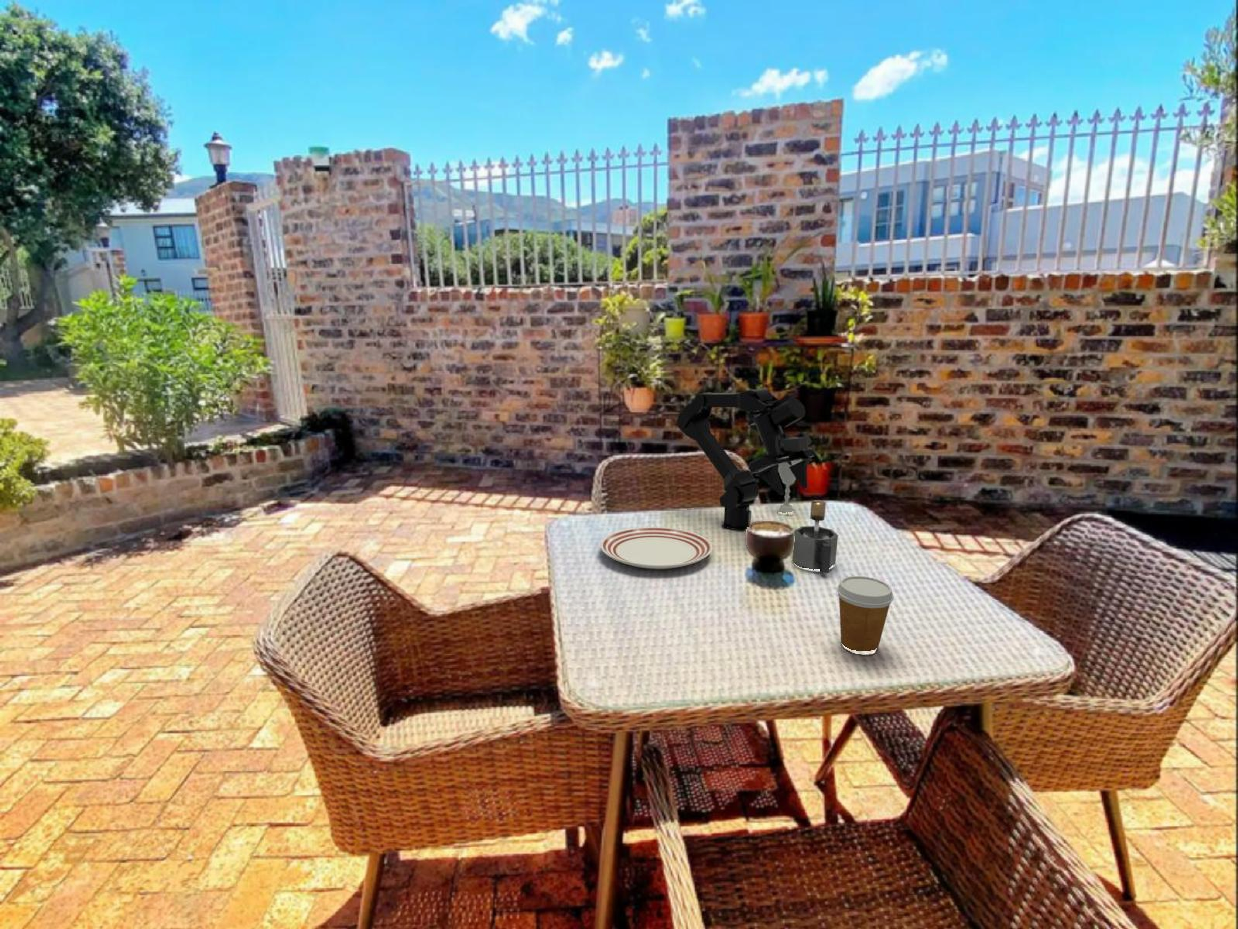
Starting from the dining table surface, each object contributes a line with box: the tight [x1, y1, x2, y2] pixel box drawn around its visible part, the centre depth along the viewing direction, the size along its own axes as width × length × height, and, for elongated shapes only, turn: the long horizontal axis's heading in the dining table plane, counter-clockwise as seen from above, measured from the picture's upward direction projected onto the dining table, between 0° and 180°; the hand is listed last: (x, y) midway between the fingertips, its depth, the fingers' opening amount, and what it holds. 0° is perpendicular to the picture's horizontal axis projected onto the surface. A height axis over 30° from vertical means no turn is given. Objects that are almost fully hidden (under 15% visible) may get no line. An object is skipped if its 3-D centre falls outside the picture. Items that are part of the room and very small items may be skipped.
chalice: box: [777, 462, 797, 513], centre depth 189 cm, size 7×7×18 cm
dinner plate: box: [599, 526, 713, 570], centre depth 159 cm, size 28×27×3 cm
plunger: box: [809, 499, 827, 539], centre depth 151 cm, size 7×7×11 cm
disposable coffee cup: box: [836, 575, 895, 651], centre depth 116 cm, size 10×10×12 cm
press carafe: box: [791, 525, 839, 574], centre depth 151 cm, size 12×9×8 cm
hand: (794, 491), depth 162 cm, fingers open, 9 cm apart
